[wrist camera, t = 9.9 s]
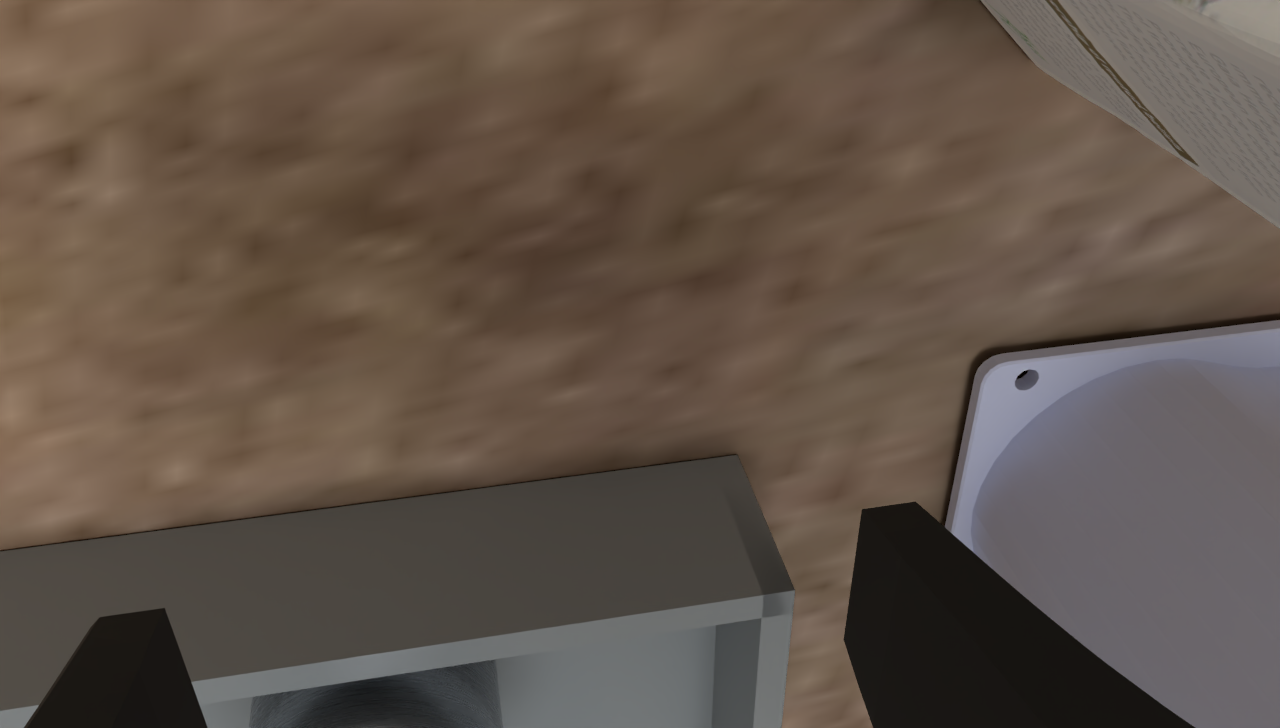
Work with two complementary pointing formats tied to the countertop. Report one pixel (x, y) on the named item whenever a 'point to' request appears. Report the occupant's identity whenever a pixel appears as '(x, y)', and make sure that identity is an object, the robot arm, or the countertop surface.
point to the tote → (448, 600)
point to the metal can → (390, 702)
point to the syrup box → (1172, 77)
